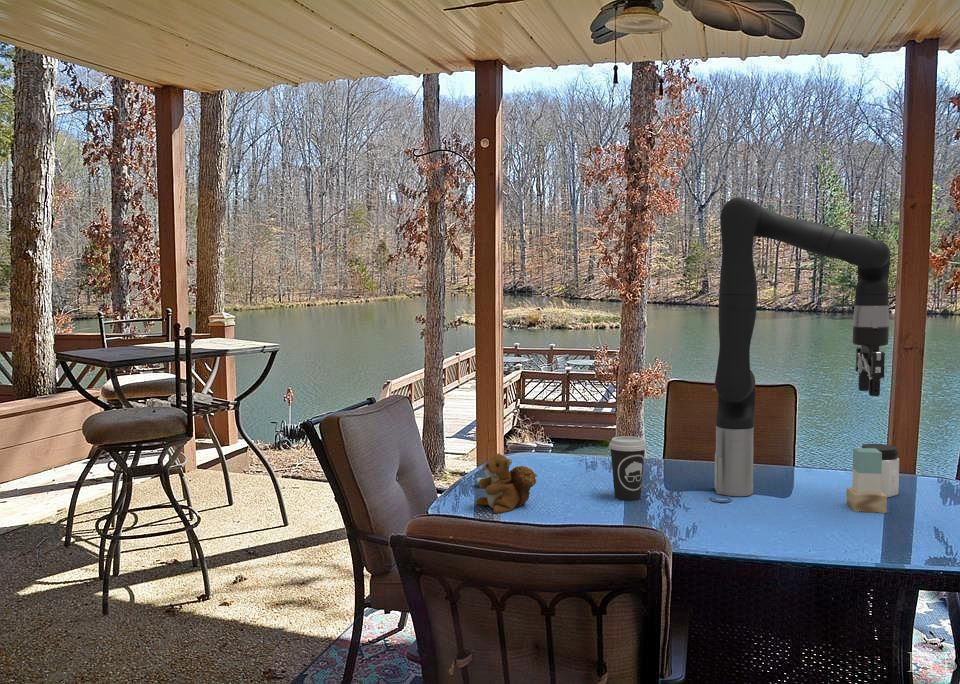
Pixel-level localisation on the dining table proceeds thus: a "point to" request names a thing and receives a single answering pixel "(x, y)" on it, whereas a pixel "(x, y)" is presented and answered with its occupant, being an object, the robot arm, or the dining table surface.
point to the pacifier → (486, 476)
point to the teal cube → (867, 460)
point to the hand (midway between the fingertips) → (868, 393)
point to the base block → (866, 502)
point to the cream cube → (866, 483)
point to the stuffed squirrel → (505, 485)
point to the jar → (888, 468)
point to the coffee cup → (627, 466)
